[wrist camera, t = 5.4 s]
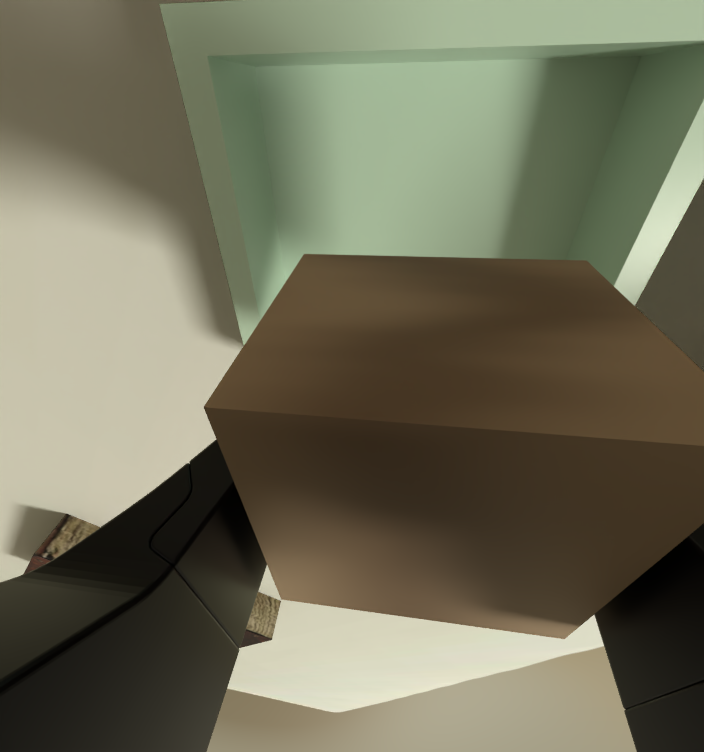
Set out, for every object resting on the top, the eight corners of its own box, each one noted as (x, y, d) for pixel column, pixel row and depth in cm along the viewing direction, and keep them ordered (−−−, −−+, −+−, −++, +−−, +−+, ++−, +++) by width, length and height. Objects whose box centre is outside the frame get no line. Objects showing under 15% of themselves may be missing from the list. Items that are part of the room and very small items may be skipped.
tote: (672, 16, 11) (814, -26, 8) (531, 375, 21) (562, 439, 17) (232, 33, 13) (159, 4, 9) (286, 362, 22) (261, 418, 18)
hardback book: (42, 556, 49) (11, 595, 45) (69, 509, 39) (33, 554, 36) (223, 621, 59) (210, 658, 55) (281, 597, 49) (271, 639, 45)
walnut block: (586, 260, 7) (788, 452, 3) (510, 447, 11) (564, 638, 7) (303, 253, 8) (203, 406, 4) (323, 432, 12) (281, 599, 8)
